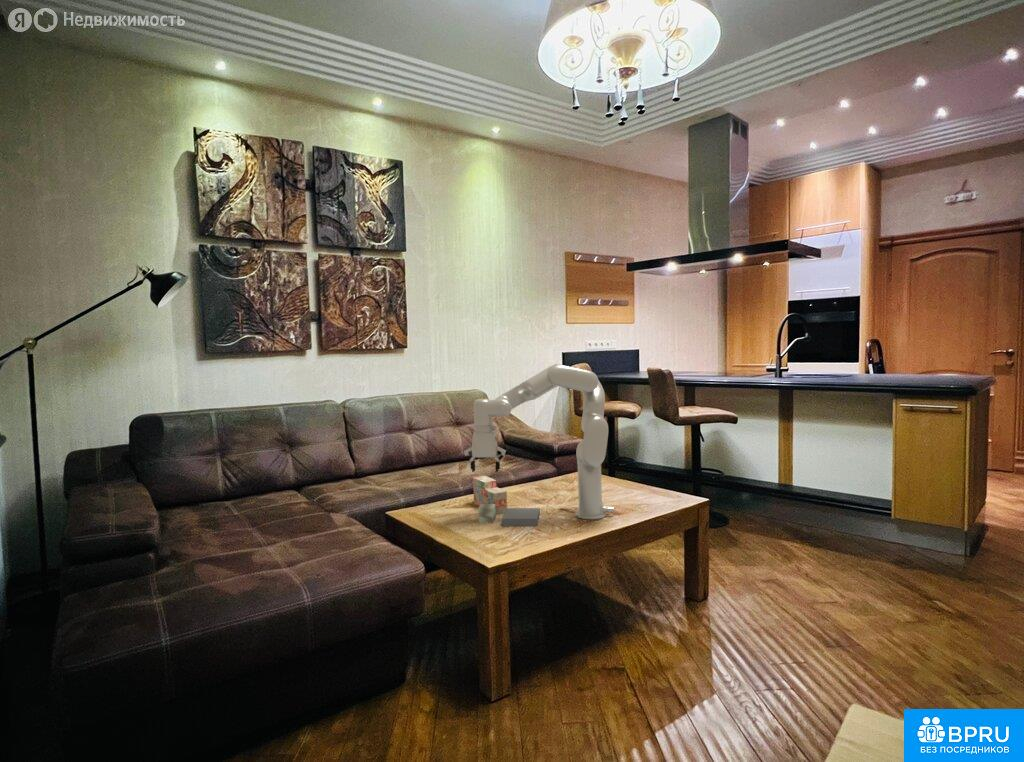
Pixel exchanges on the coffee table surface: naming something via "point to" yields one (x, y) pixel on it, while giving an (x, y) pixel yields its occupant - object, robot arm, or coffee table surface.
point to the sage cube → (487, 513)
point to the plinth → (521, 517)
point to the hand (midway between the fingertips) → (485, 471)
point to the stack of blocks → (489, 493)
